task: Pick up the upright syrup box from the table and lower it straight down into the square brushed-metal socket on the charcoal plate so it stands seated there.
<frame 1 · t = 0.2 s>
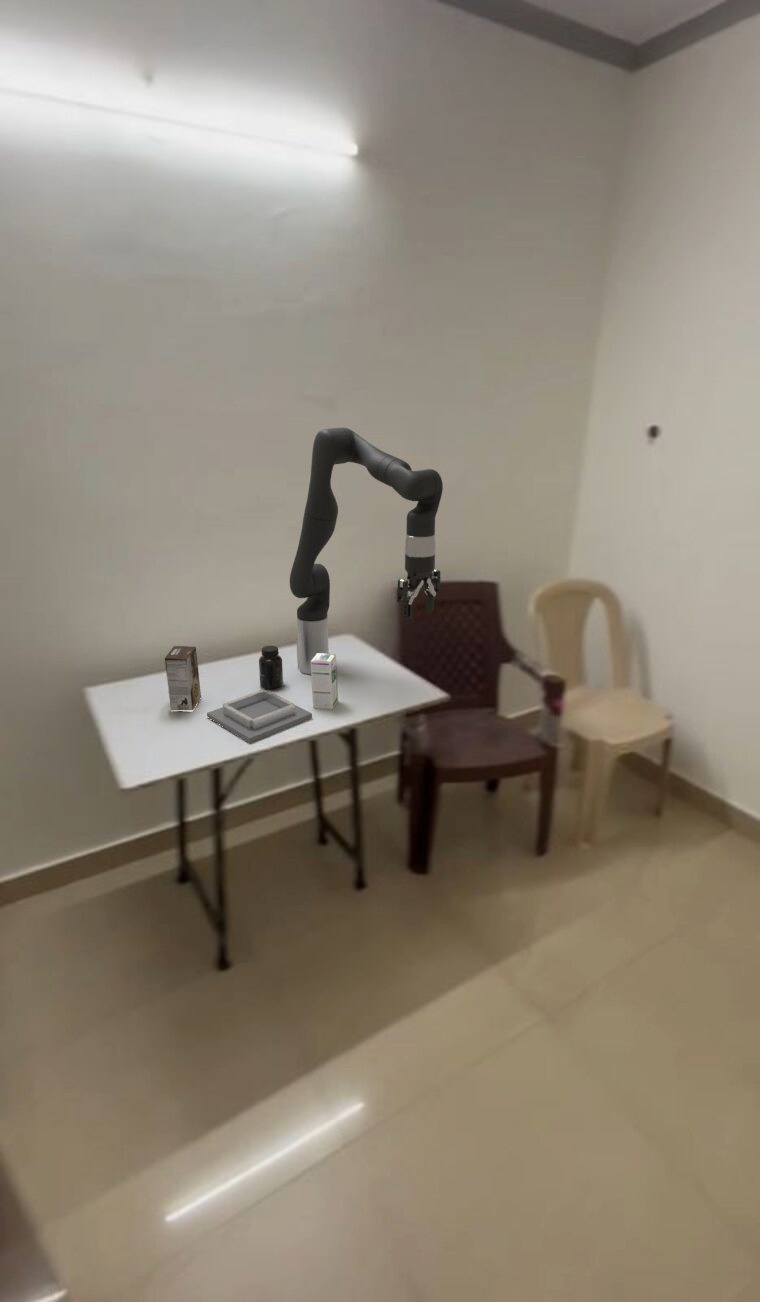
hand: (418, 613, 187), 29 cm above the table, tool pointing down, fingers open, 8 cm apart
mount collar: (259, 708, 195), on the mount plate, point 2 cm above the table
syrup box: (325, 705, 204), on the table
supplement bottle: (271, 686, 216), on the table
coffee box: (186, 705, 204), on the table
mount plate: (259, 718, 196), on the table
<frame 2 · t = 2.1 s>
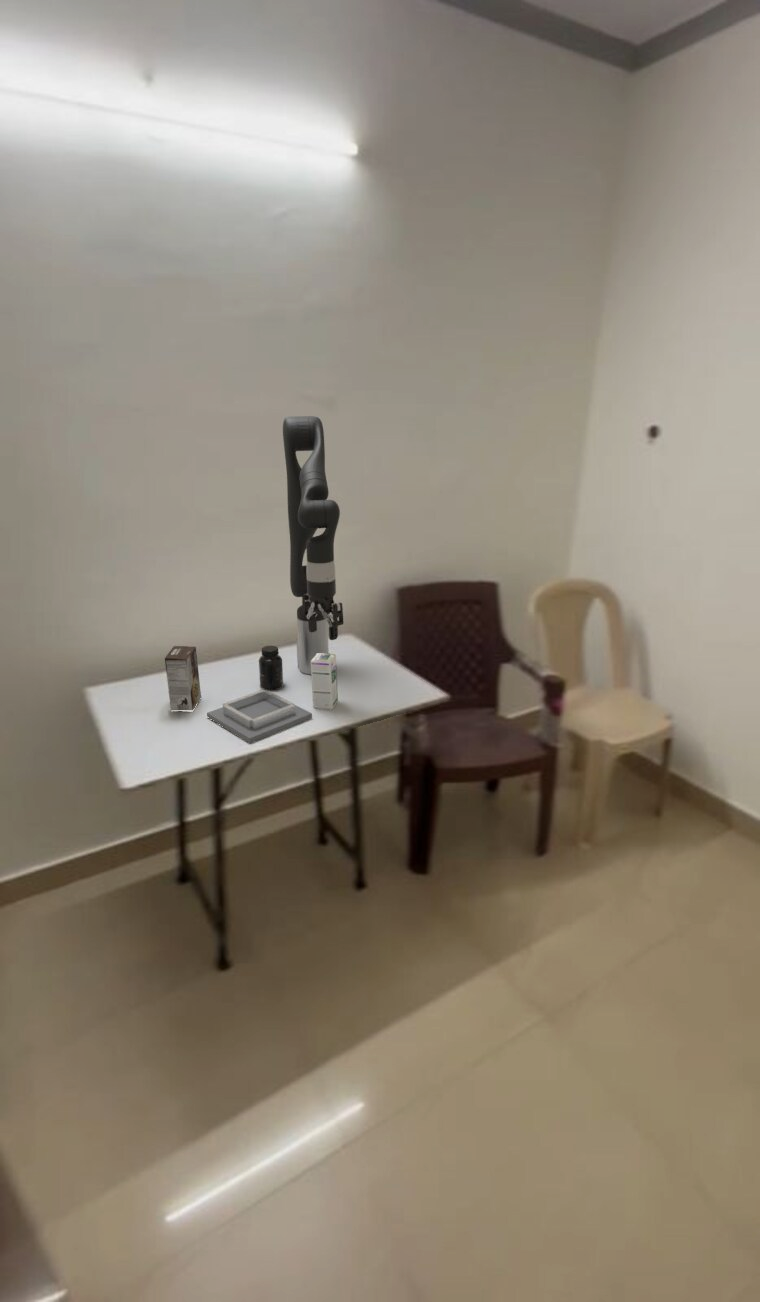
hand: (323, 635, 196), 21 cm above the table, tool pointing down, fingers open, 8 cm apart
nothing on the table moved.
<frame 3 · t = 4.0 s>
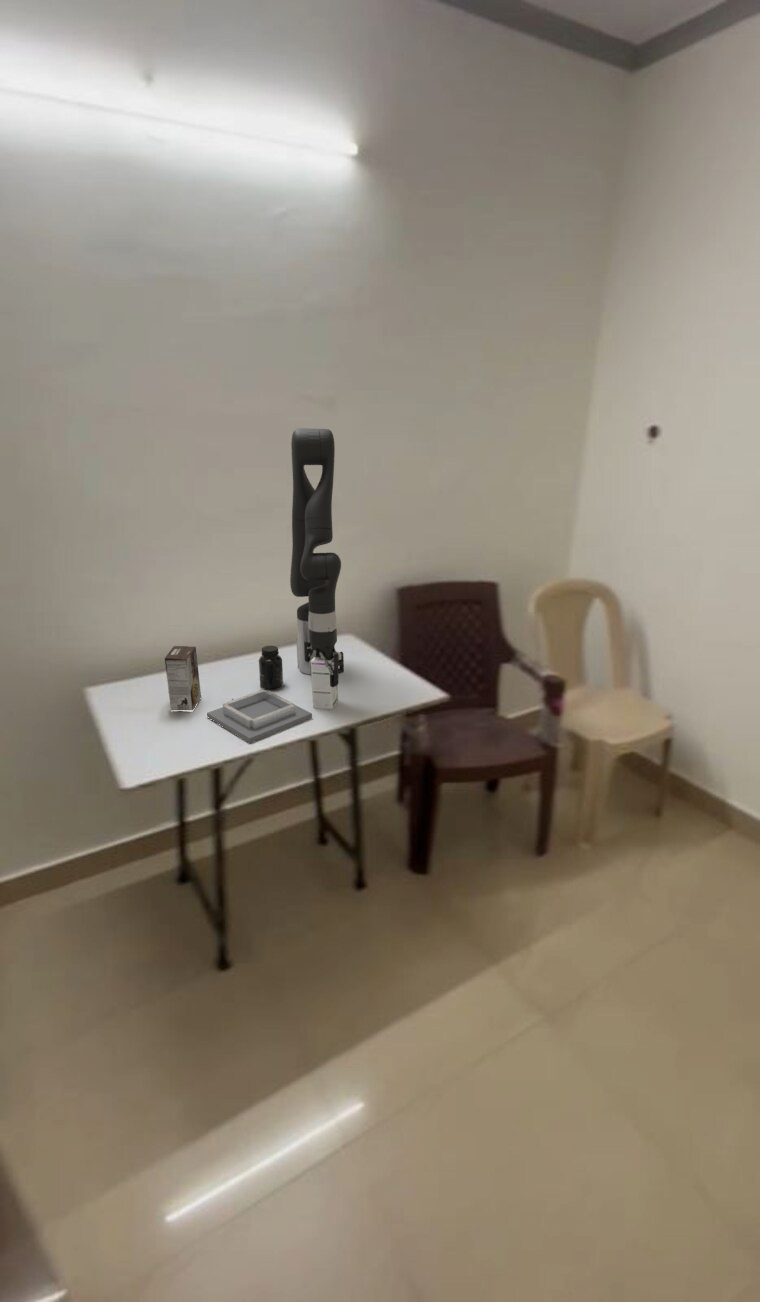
hand: (324, 681, 201), 7 cm above the table, tool pointing down, fingers closed on syrup box, 7 cm apart
syrup box: (325, 705, 204), on the table, touching gripper
everything else where it was.
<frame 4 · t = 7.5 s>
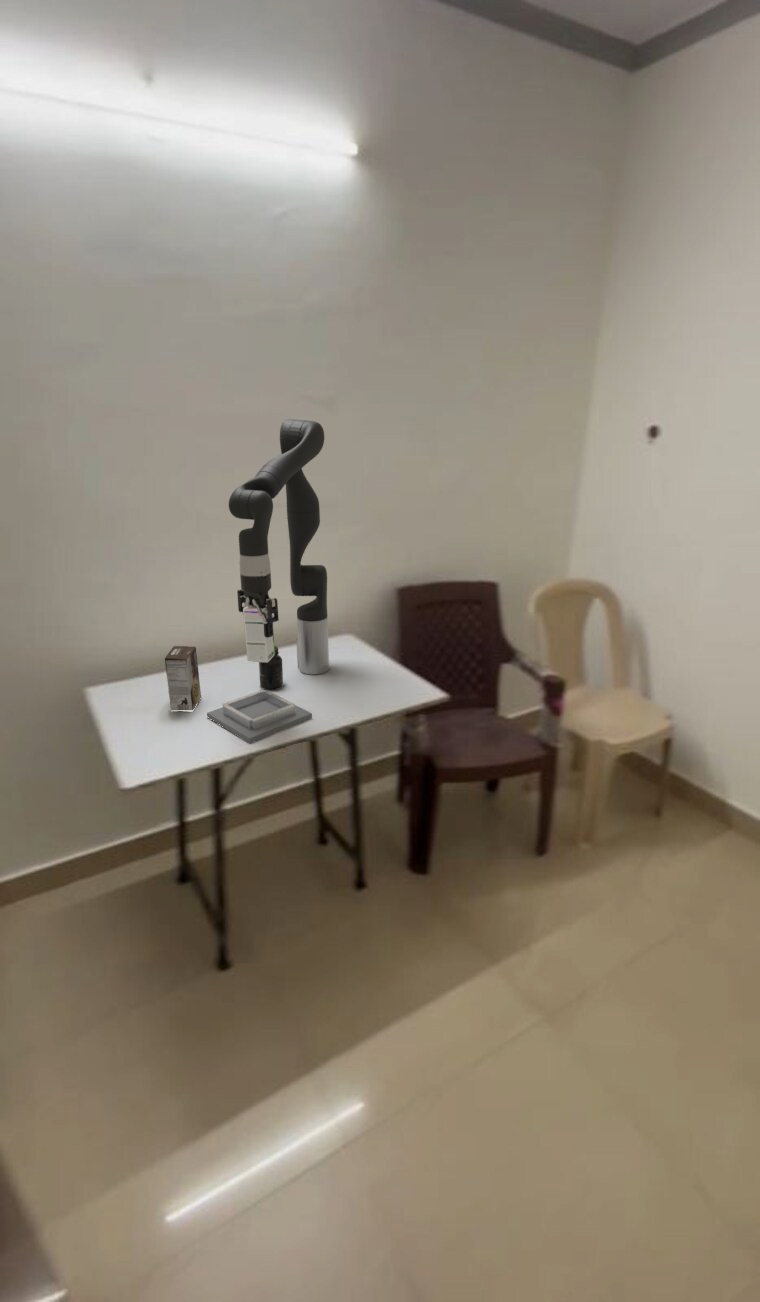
hand: (259, 632, 187), 24 cm above the table, tool pointing down, fingers closed on syrup box, 7 cm apart
syrup box: (261, 659, 190), point 17 cm above the table, touching gripper
everything else where it was.
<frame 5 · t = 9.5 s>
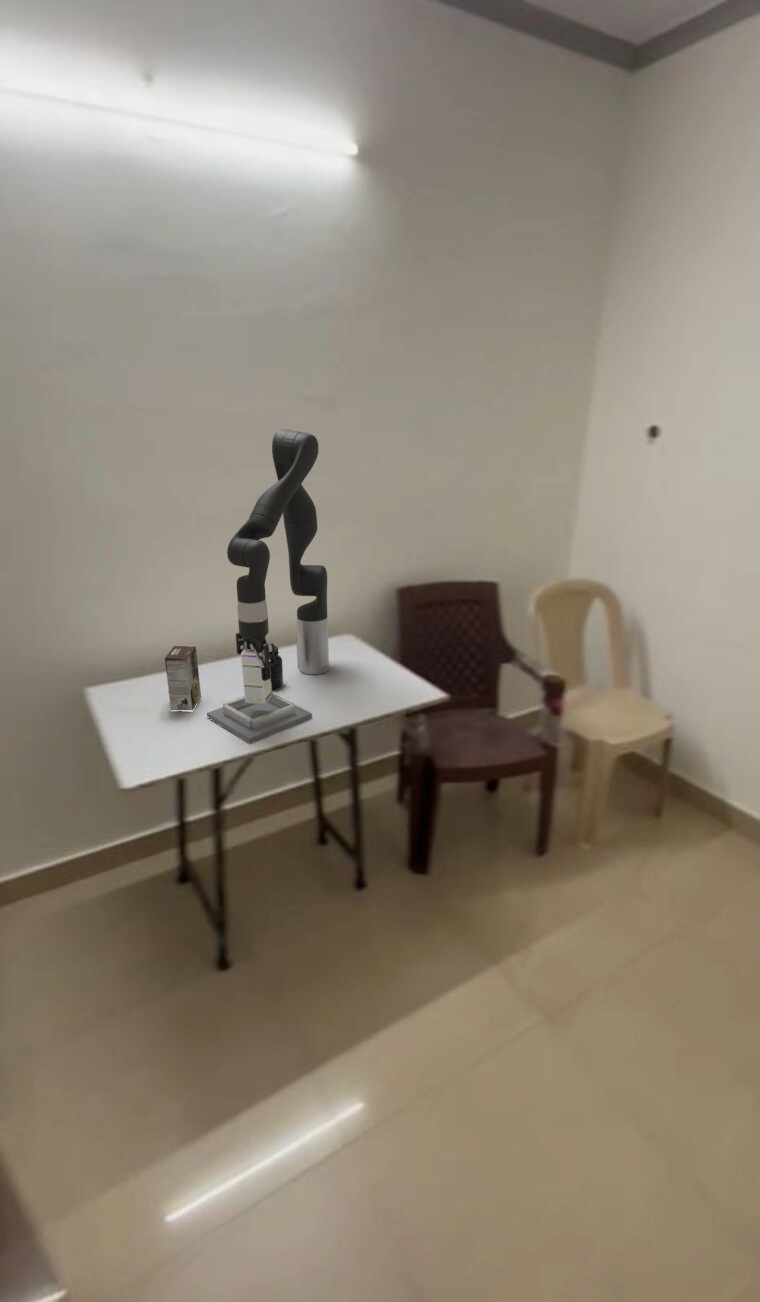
hand: (257, 675, 191), 13 cm above the table, tool pointing down, fingers closed on syrup box, 7 cm apart
syrup box: (258, 700, 194), point 5 cm above the table, touching gripper
everything else where it was.
when the fingers open (9 cm above the table, at t = 11.1 s): syrup box stays where it is, resting on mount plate.
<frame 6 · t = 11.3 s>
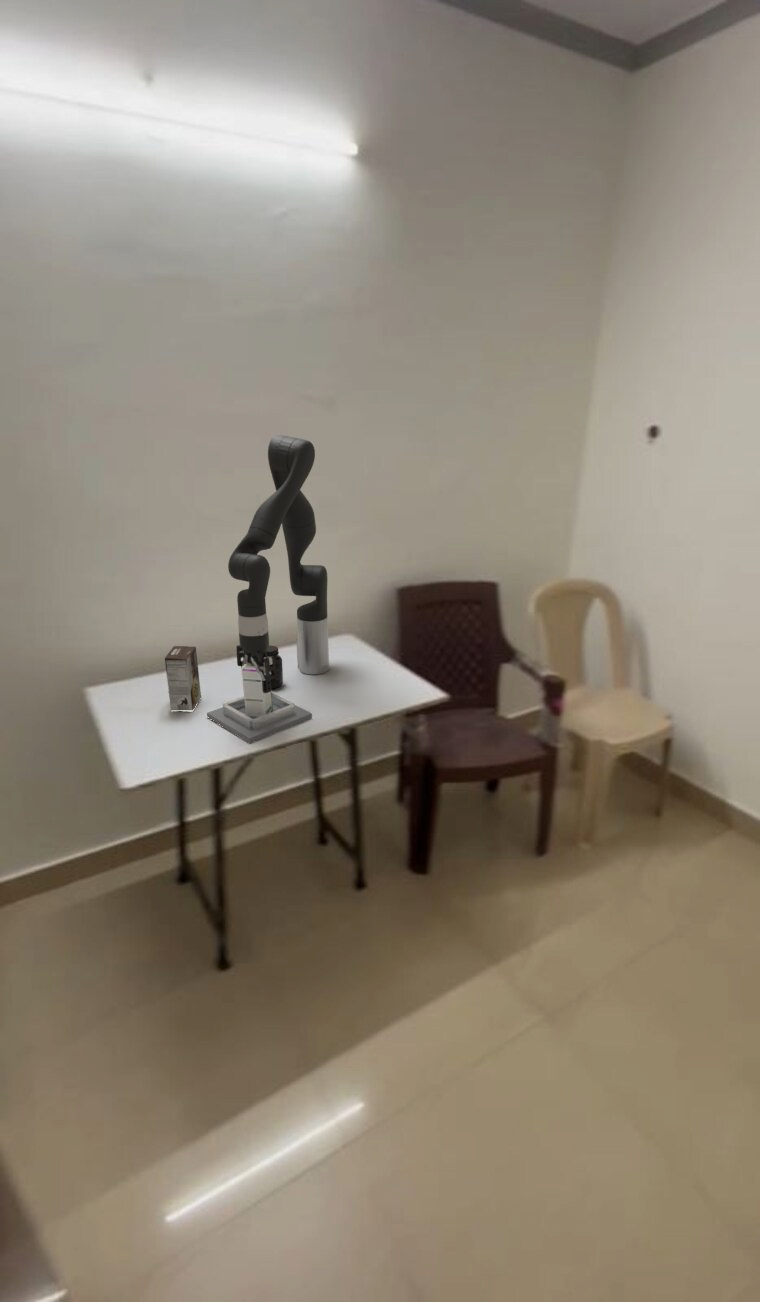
hand: (257, 687, 193), 9 cm above the table, tool pointing down, fingers open, 8 cm apart
syrup box: (259, 713, 196), point 1 cm above the table, touching gripper, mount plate
everything else where it was.
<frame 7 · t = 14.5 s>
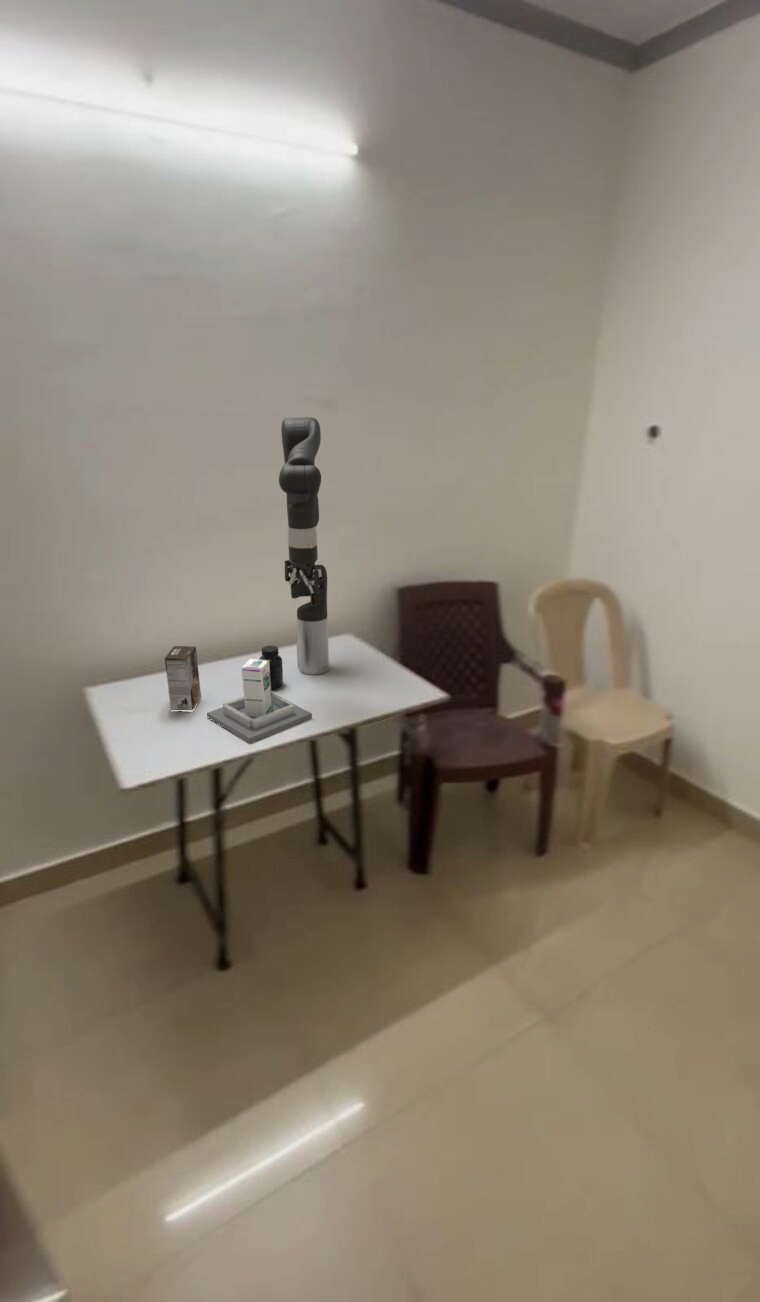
hand: (305, 601, 197), 29 cm above the table, tool pointing down, fingers open, 8 cm apart
syrup box: (259, 713, 196), point 1 cm above the table, touching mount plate
everything else where it was.
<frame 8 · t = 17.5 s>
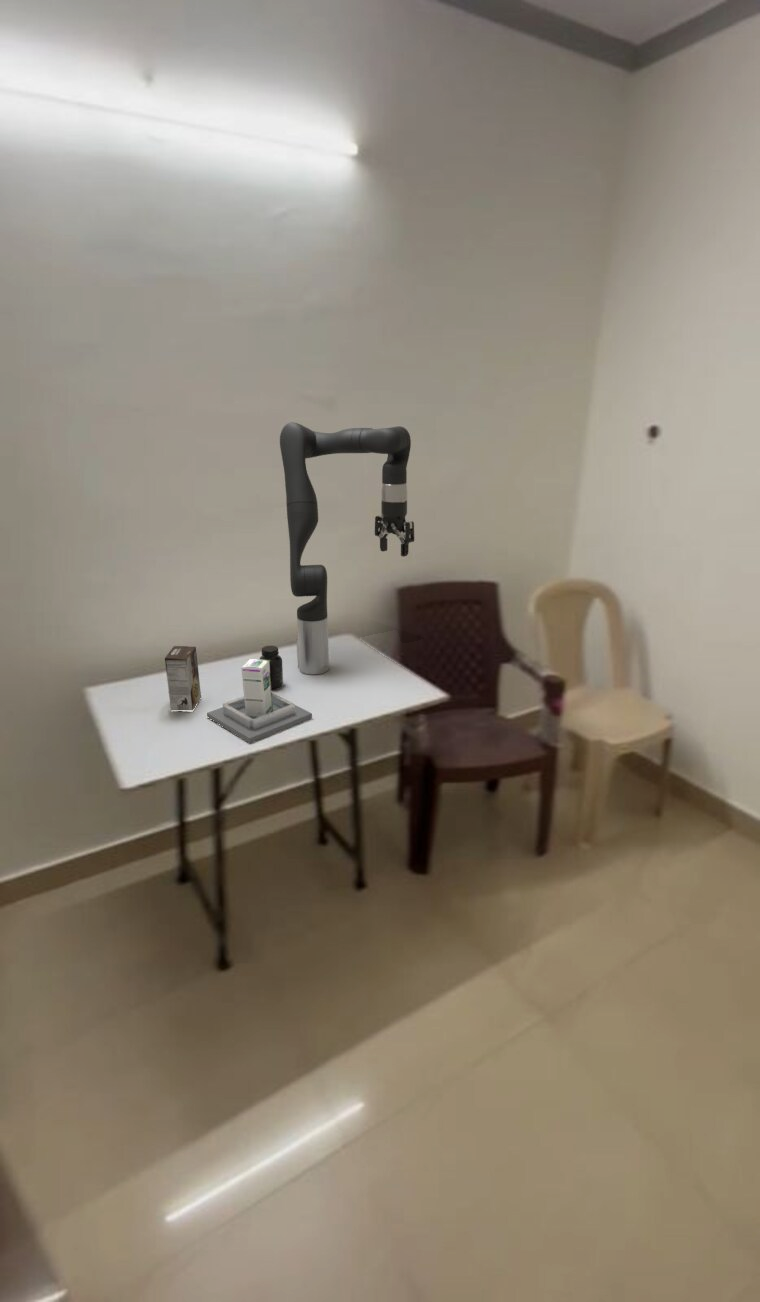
hand: (394, 553, 217), 36 cm above the table, tool pointing down, fingers open, 8 cm apart
nothing on the table moved.
at the end: syrup box 0.2 cm off-centre on the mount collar, point 1.3 cm above the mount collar's base; syrup box tilted 0°; the gripper is holding nothing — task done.
